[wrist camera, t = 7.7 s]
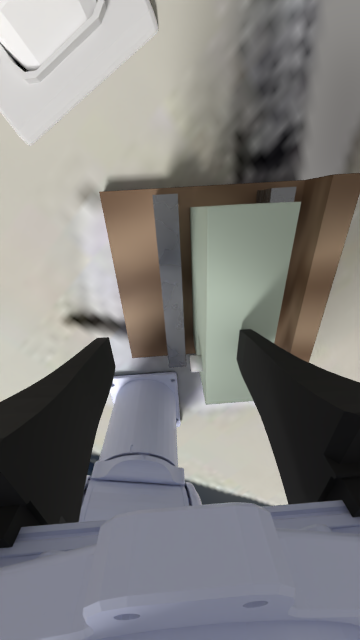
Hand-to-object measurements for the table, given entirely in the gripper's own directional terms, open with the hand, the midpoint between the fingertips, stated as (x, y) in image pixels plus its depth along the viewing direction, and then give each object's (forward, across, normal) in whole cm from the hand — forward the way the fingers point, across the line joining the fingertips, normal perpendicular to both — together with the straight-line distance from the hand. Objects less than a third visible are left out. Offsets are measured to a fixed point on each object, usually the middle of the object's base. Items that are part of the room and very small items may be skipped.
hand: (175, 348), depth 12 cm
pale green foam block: (+8, -4, -1) cm, 9 cm away
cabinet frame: (+9, -4, -1) cm, 10 cm away
